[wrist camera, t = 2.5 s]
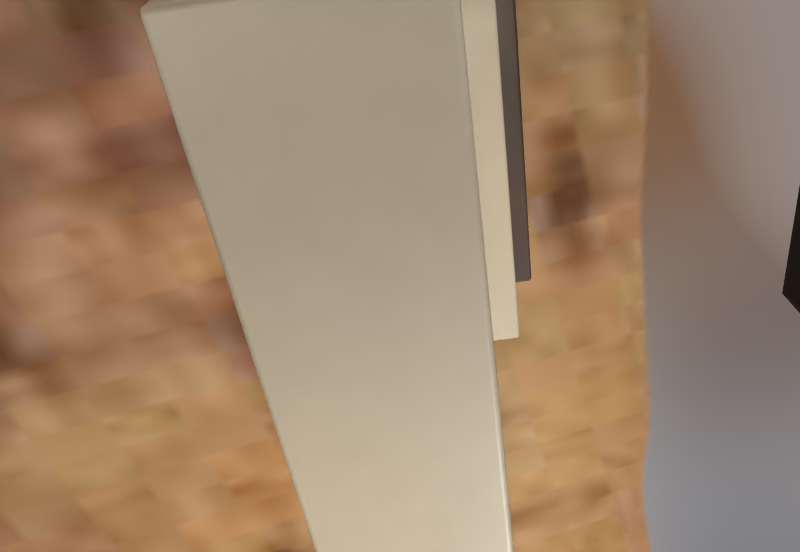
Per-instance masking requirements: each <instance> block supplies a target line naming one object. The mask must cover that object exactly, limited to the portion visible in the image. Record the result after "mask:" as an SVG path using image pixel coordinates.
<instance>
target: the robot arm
mask: <svg viewBox="0 0 800 552" xmlns="http://www.w3.org/2000/svg"><path fill="white" fill-rule="evenodd" d="M782 293H783V295H784V296H785V297H786V298H787V299H788V300H789V301H790V303H791V304H792V305H793V306H794V307H795V308H796V309H797V310H798V311H799V312H800V187H799V193H798V199H797V206H796V212H795V218H794V224H793V230H792V236H791V243H790V249H789V255H788V262H787V267H786V274H785V280H784V286H783V292H782Z"/></svg>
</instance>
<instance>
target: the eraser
mask: <svg viewBox="0 0 800 552" xmlns="http://www.w3.org/2000/svg"><path fill="white" fill-rule="evenodd" d="M140 16H141V19H142V22H143V25H144V28H145V31H146V34H147V38H148V41H149V44H150V47H151V50H152V53H153V56H154V59H155V62H156V65H157V68H158V71H159V74H160V77H161V80H162V83H163V86H164V89H165V93H166V96H167V99H168V102H169V105H170V108H171V111H172V114H173V117H174V120H175V123H176V126H177V129H178V132H179V135H180V138H181V141H182V145H183V148H184V151H185V154H186V157H187V160H188V163H189V166H190V169H191V172H192V175H193V178H194V181H195V184H196V187H197V190H198V193H199V197H200V200H201V203H202V206H203V209H204V212H205V215H206V218H207V221H208V224H209V227H210V230H211V233H212V236H213V239H214V242H215V245H216V248H217V252H218V255H219V258H220V261H221V264H222V267H223V270H224V273H225V276H226V279H227V282H228V285H229V288H230V291H231V294H232V297H233V300H234V304H235V307H236V310H237V313H238V316H239V319H240V322H241V325H242V328H243V331H244V334H245V337H246V340H247V343H248V346H249V349H250V352H251V355H252V359H253V362H254V365H255V368H256V371H257V374H258V377H259V380H260V383H261V386H262V389H263V392H264V395H265V398H266V401H267V404H268V407H269V411H270V414H271V417H272V420H273V423H274V426H275V429H276V432H277V435H278V438H279V441H280V444H281V447H282V450H283V453H284V456H285V459H286V462H287V466H288V469H289V472H290V475H291V478H292V481H293V484H294V487H295V490H296V493H297V496H298V499H299V502H300V505H301V508H302V511H303V514H304V518H305V521H306V524H307V527H308V530H309V533H310V536H311V539H312V542H313V545H314V548H315V551H316V552H514V548H513V537H512V527H511V516H510V506H509V496H508V485H507V475H506V465H505V454H504V444H503V433H502V423H501V413H500V402H499V392H498V381H497V371H496V361H495V350H494V341H495V340H502V339H509V338H516V337H518V336H519V323H518V309H517V295H516V281H515V267H514V254H513V240H512V226H511V212H510V198H509V184H508V170H507V156H506V142H505V128H504V114H503V100H502V86H501V73H500V59H499V45H498V31H497V17H496V3H495V0H150V1H148V2H147V3H146V4H145V5H144V6H143V7H141V14H140Z"/></svg>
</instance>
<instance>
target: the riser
mask: <svg viewBox="0 0 800 552" xmlns="http://www.w3.org/2000/svg"><path fill="white" fill-rule="evenodd" d="M495 3H496V17H497V31H498V45H499V59H500V73H501V86H502V100H503V114H504V128H505V142H506V156H507V170H508V184H509V198H510V212H511V226H512V240H513V254H514V267H515V281H516V282H521V281H528V280H531V265H530V248H529V231H528V213H527V196H526V179H525V161H524V144H523V127H522V109H521V92H520V75H519V57H518V40H517V23H516V5H515V0H495Z"/></svg>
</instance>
